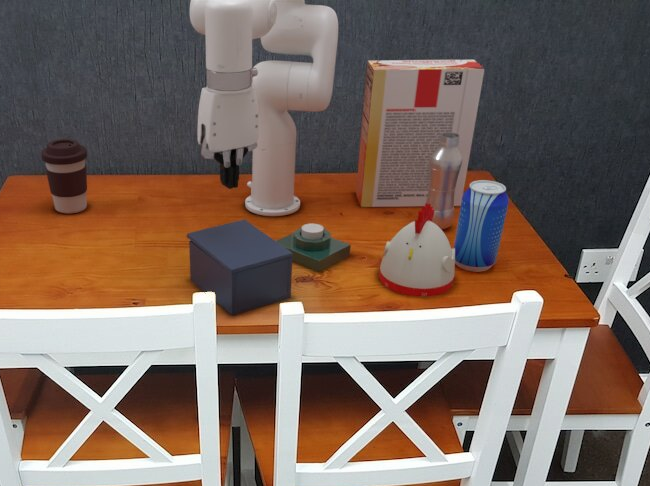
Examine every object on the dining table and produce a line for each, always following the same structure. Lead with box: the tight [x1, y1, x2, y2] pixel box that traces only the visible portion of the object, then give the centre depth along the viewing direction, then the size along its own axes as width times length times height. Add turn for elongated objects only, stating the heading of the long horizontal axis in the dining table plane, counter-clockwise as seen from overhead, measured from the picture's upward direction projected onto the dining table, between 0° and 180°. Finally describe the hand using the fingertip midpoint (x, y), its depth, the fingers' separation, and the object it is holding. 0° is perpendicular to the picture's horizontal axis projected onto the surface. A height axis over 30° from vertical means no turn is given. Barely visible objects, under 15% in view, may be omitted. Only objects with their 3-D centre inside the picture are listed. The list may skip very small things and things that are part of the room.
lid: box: [186, 219, 293, 273], centre depth 143 cm, size 16×13×1 cm
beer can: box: [453, 179, 510, 273], centre depth 151 cm, size 8×8×16 cm
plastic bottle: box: [426, 132, 462, 230], centre depth 164 cm, size 6×7×20 cm
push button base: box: [275, 227, 351, 273], centre depth 158 cm, size 12×10×4 cm
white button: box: [301, 222, 325, 240], centre depth 156 cm, size 4×4×2 cm
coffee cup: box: [40, 138, 88, 215], centre depth 175 cm, size 10×10×15 cm
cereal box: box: [355, 59, 485, 208], centre depth 174 cm, size 23×8×30 cm, turn 91°
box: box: [188, 240, 293, 317], centre depth 145 cm, size 16×13×8 cm
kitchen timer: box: [378, 203, 456, 298], centre depth 146 cm, size 14×14×15 cm
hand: (229, 185), depth 140 cm, fingers closed
